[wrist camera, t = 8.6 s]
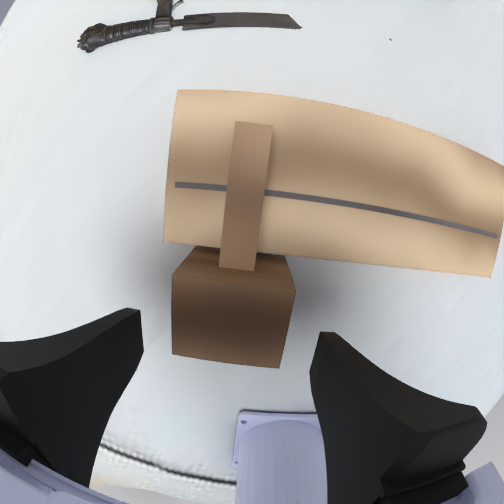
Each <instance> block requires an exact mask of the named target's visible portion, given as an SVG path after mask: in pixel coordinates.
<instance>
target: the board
mask: <svg viewBox="0 0 504 504" xmlns="http://www.w3.org/2000/svg"><path fill="white" fill-rule="evenodd" d="M235 121H241V122H251V123H259V124H267V125H273V130H272V137H271V145H270V153H269V161H268V169H267V176H266V184H265V192H264V200H263V207H262V215H261V223H260V230H259V238H258V245H257V252H263V253H272V254H281V255H291V256H300V257H309V258H318V259H327V260H336V261H345V262H354V263H363V264H372V265H382V266H391V267H400V268H409V269H418V270H427V271H436V272H445V273H454V274H463V275H472V276H481V277H490V278H491V275H492V271H493V267H494V264H495V260H496V256H497V251H498V247H499V242H500V237H501V232H502V227H503V221H504V166H502V165H500V164H499V163H497V162H495V161H493V160H491V159H489V158H487V157H485V156H483V155H481V154H479V153H477V152H475V151H473V150H471V149H469V148H466V147H464V146H462V145H460V144H457V143H455V142H453V141H450V140H448V139H446V138H443V137H441V136H438V135H436V134H433V133H430V132H428V131H425V130H422V129H420V128H417V127H414V126H411V125H408V124H405V123H402V122H399V121H396V120H392V119H389V118H386V117H382V116H379V115H375V114H372V113H368V112H364V111H360V110H356V109H352V108H348V107H343V106H339V105H334V104H329V103H324V102H319V101H314V100H308V99H302V98H296V97H289V96H281V95H273V94H264V93H254V92H242V91H226V90H177V96H176V102H175V109H174V116H173V123H172V131H171V140H170V149H169V158H168V169H167V181H166V195H165V211H164V235H163V242H171V243H181V244H190V245H199V246H208V247H217V248H221V239H222V229H223V219H224V210H225V201H226V192H227V183H228V175H229V166H230V158H231V150H232V143H233V135H234V128H235Z"/></svg>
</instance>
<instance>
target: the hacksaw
mask: <svg viewBox="0 0 504 504" xmlns="http://www.w3.org/2000/svg"><path fill="white" fill-rule="evenodd" d="M181 1H183V0H179V1H178V2H177V3H179V2H181ZM157 2H158V6H157V11H156V17H155V18H151V19H149V20H139V21H131V22H127V23H121V24H116V25H113V26H106V25H104V24H102V23H98V24H95V25H94V26H90V27H88V28H87V29H86V30H85V31H84V33H83V34H81V36H80V38H81V39H80V40H77V42H80V43H79V44H78V46H77V47H78V48H79V47H81V46H82V48H81V49H82V50H86V52H87V53H88V52H92V51H93V50H94V49H95V48H97V47H99V46H103V45H105V44H109V43H112V42H113V41H115V42H116V41H119V40H123V39H127V38H131V37H135V36H139V35H145V34H148V33H149V34H154V33H155V32H165V31H170V30H171V29H172V27H175V26H183V28H182V30H183V29H191V28H192V29H193V28H204V27H206V28H207V27H222V26H223V27H225V26H227V27H229V26H231V27H232V26H234V27H235V26H238V27H239V26H241V27H242V26H245V27H246V26H249V27H250V26H252V27H254V26H255V27H258V26H259V27H274V28H275V27H277V28H288V29H290V28H291V29H295V30H296V29H300V28H302V27H300V26H299V25H298V24H297V23H296V22H295V21H294V20H293V19H292V18H291V17H290V16H289V15H286V14H273V13H248V12H234V13H209V14H196V15H186V16H184V19H178V20H173V17H170V15H171V8H172V7H174V6H175V5H176V4H177V3H176V4H174V5H173V6H172V0H157ZM171 6H172V7H171ZM390 40H391V39H390ZM391 41H392V40H391Z"/></svg>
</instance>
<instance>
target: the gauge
mask: <svg viewBox="0 0 504 504" xmlns="http://www.w3.org/2000/svg"><path fill="white" fill-rule="evenodd" d="M272 130H273V125H267V124H259V123H251V122H241V121H235V128H234V135H233V143H232V150H231V158H230V166H229V175H228V183H227V192H226V201H225V210H224V219H223V229H222V239H221V248H216V247H208V246H199V245H197V246H196V247H195V248H194V249H193V250H192V252H191V253H190V254H189V255H188V256H187V258H186V259H185V260H184V261H183V262H182V263H181V265H180V266H179V267H178V268H177V269H176V271H175V272H174V273H173V274H172V302H171V321H172V354H174V355H179V356H185V357H191V358H197V359H203V360H209V361H216V362H223V363H231V364H239V365H248V366H257V367H268V368H279V367H280V363H281V358H282V354H283V350H284V345H285V341H286V336H287V331H288V327H289V322H290V317H291V312H292V307H293V302H294V297H295V292H296V290H295V287H294V283H293V280H292V277H291V274H290V271H289V268H288V265H287V262H286V259H285V256H280V255H272V254H264V253H257V245H258V238H259V230H260V223H261V215H262V207H263V200H264V192H265V184H266V176H267V169H268V161H269V153H270V145H271V137H272Z"/></svg>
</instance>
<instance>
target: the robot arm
mask: <svg viewBox="0 0 504 504" xmlns="http://www.w3.org/2000/svg"><path fill="white" fill-rule="evenodd" d="M143 352H144V347H143V338H142V326H141V313H140V310H137V309H131V308H124V309H121V310H119V311H116V312H114V313H111V314H109V315H107V316H104V317H102V318H100V319H97V320H95V321H93V322H90V323H88V324H85V325H83V326H80V327H77V328H75V329H72V330H69V331H66V332H63V333H60V334H56V335H52V336H48V337H44V338H38V339H32V340H26V341H15V342H0V504H128V503H125V502H122V501H119V500H116V499H114V498H111V497H108V496H105V495H103V494H101V493H98V492H96V491H94V490H91V489H89V484H90V479H91V474H92V469H93V466H94V462H95V458H96V455H97V451H98V448H99V445H100V442H101V439H102V436H103V433H104V430H105V428H106V425H107V423H108V420H109V418H110V415H111V413H112V411H113V409H114V407H115V405H116V404H117V402H118V400H119V399H120V397H121V395H122V393H123V392H124V390H125V388H126V387H127V385H128V383H129V382H130V380H131V378H132V376H133V375H134V373H135V371H136V369H137V367H138V365H139V362H140V360H141V357H142V355H143ZM309 372H310V383H311V392H312V396H313V400H314V404H315V408H316V412H317V414H279V413H260V412H247V411H242V412H240V413H239V414H238V420H237V428H236V436H235V444H234V451H233V459H232V468H234V469H238V472H237V486H236V500H235V504H504V482H503V480H502V478H501V476H500V475H499V473H498V471H497V469H496V468H495V466H494V464H493V463H492V462H489V463H487V464H485V465H483V466H482V467H480V468H478V469H476V470H474V471H472V472H470V473H469V474H468V475H467V476H465V477H464V476H463V473H462V472H461V471H463V470H464V469H465V464H464V462H463V459H464V458H465V457H466V456H467V454H468V453H469V452H470V451H471V450H472V449H473V448H474V446H475V445H476V444H477V443H478V442H479V440H480V439H481V437H482V436H483V434H484V432H485V430H486V426H487V422H486V420H485V418H484V417H483V416H482V414H481V413H480V411H479V410H478V409H477V408H476V407H475V406H470V405H465V404H460V403H455V402H451V401H447V400H444V399H441V398H437V397H434V396H432V395H429V394H426V393H424V392H422V391H419V390H417V389H415V388H413V387H411V386H409V385H407V384H405V383H403V382H401V381H399V380H398V379H396V378H394V377H392V376H391V375H389V374H388V373H386V372H385V371H383V370H382V369H380V368H379V367H377V366H376V365H375V364H373V363H372V362H371V361H369V360H368V359H367V358H366V357H364V356H363V355H362V354H361V353H359V352H358V351H357V350H356V349H355V348H353V347H352V346H351V345H350V344H349V343H348V342H346V341H345V340H344V339H343V338H342V337H340V336H339V335H338V334H336V333H335V332H320V334H319V338H318V342H317V346H316V349H315V353H314V357H313V360H312V364H311V368H310V371H309Z"/></svg>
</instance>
